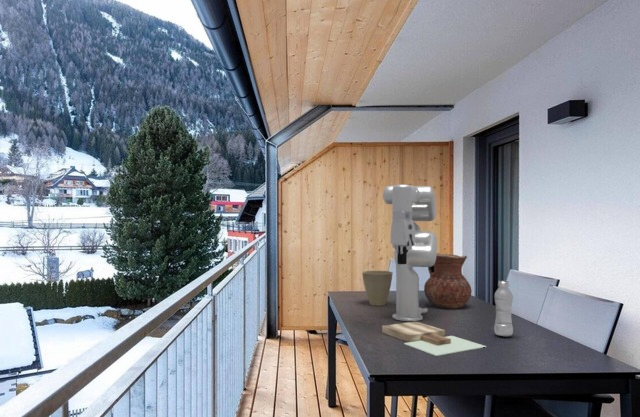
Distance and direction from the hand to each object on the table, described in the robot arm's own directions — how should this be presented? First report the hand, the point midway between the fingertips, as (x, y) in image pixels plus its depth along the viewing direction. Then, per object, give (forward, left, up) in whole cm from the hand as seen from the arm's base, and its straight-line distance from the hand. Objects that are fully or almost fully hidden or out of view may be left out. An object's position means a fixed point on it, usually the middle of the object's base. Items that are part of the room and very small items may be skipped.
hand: (402, 263), depth 186 cm
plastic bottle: (-26, +26, -25) cm, 45 cm away
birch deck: (+2, +9, -25) cm, 27 cm away
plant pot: (-21, -46, -25) cm, 57 cm away
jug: (-49, -27, -25) cm, 61 cm away
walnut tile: (+2, +21, -24) cm, 32 cm away
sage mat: (+2, +26, -25) cm, 36 cm away
